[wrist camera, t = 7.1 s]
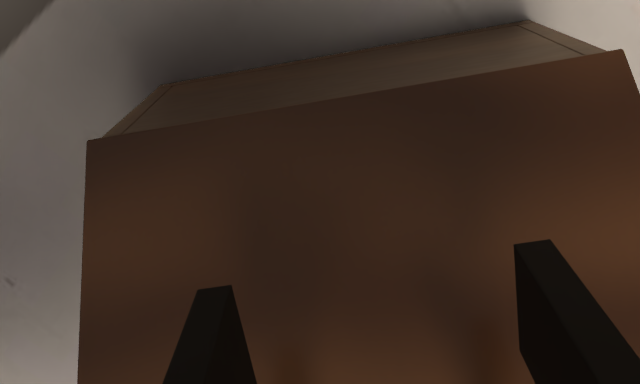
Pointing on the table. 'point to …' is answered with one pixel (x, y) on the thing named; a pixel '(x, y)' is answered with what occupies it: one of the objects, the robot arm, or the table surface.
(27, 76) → the table surface
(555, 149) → the lid
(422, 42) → the chest
